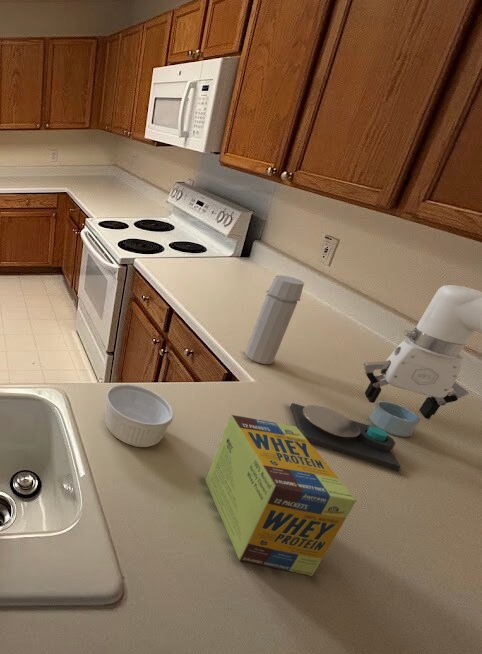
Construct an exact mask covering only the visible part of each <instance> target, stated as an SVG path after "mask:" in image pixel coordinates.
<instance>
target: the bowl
mask: <svg viewBox="0 0 482 654" xmlns="http://www.w3.org/2000/svg"><path fill="white" fill-rule="evenodd" d="M368 419H369V420H370V422H371V423H372V424H373V425H374V427H378V428H380V429H382V430H384V431H385V432H387V434H389V435H393V436H396V437H403V438H404V437H406V438H407V437H411V436H412V435H413V433H414V432H415V430H416V428H417V427H418V425H419V423H420V422H421V418H420V417H419V416H418V414H416V413H415V412H414V411H412V410H411V409H408V408H407V407H405V406H404V405H403V406H402V405H400V404H397V403H395V402H391V401H386V400H379V401H377V402H376V404H375V406H374V407H373V409H372V411H371V412H370V414H369V417H368Z"/></svg>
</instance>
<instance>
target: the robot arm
mask: <svg viewBox="0 0 482 654" xmlns="http://www.w3.org/2000/svg"><path fill="white" fill-rule="evenodd" d="M475 332H478V333H480V334H482V291H481V290H478V289H475V288H472V287H468V286H463V285H457V284H445V285H443V286H440V287H439V288H438V289H437V291H436V292H435V293H434V295H433V297H432V299H431V301H430V302H429V304H428V305H427V307H426V309H425V311H424V313H423V315H422V316H421V318H420V319H419V320H418V323H417V324H416V326H415V327H413V329H412V330H404V331H403V337H406V338H405V339H404V340H402V341H401V343H399V344H398V345H397V346H396V347H395V349H394V350H393V351H392V352H391V354H390V355H389V356H388V357H387V359H386V360H384V361H371V362H365V363H363V369H364V374H365V376H366V377H367V379H368V380H369V384H368V386H367V388H366V389H365V391H364V395H365V397H366V399H367V400H368V403H371V404H374V403H375V402H376V401H377V399H378V397H379V395H380V393H381V392H382V388H381V387H383V386H386V385H390V386H392V387H395V388H399V389H402V390H405V391H410V392H413V393H417V394H420V395H423V396H428V397H426V399H425V400H424V402H423V403H422V405H421V406H420V408H419V409H418V411H419V413H420V414H421V415H422V416H423V417H424V419H426V420H430V419H431V418H432V416H434V415H435V414H436V413H437V412H438V410H439V408H440V407H443V406H446V404H448V403H453V402H457V401H458V399H461V398H463V397H465V396H467V395H469V391H468V390H467V389H466V388H465V387H463V385H460V384H459V383H458V382H456V381H457V378H458V376H459V374H460V371H461V368H462V365H463V361H464V357H463V356H462V355H461V353H462V351H463V350H464V348H465V346H466V345H467V343H468V341H469V340H470V338H471V337H472V335H473V333H475ZM375 370H380V373H379V374H376V375H375V374H374V372H375ZM452 389H453V390H452Z"/></svg>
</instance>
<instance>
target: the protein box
mask: <svg viewBox="0 0 482 654" xmlns="http://www.w3.org/2000/svg"><path fill="white" fill-rule="evenodd" d="M204 481H205V484H206V487H207V489H208V491H209V493H210V496H211V498H212V500H213V502H214V505H215V508H216V509H217V512H218V514H219V517H220V518H221V521H222V523H223V526H224V528H225V530H226V533H227V535H228V537H229V540H230V542H231V545H232V547H233V549H234V551H235V554H236V556H237V558H238V561H241V562H246V563H251V564H256V565H260V566H265V567H268V568H273V569H279V570H282V571H288V572H293V573H297V574H302V575H306V576H310V577H312V576H314V574H315V572H316V571H317V569H318V567H319V565H320V563H321V562H322V560H323V558H324V557H325V555H326V553H327V551H328V550H329V548H330V546H331V545H332V543H333V541H334V539H335V538H336V536H337V534H338V533H339V531H340V529H341V527H342V526H343V524H344V523H345V521H346V519H347V517H348V516H349V514H350V512H351V510H352V509H353V507H354V506H355V504H356V503H357V498H356V497H355V496H354V495H353V494H352V493H351V491H350V490H349V489H348V487H347V486H346V485H345V484H344V483H343V482H342V480H341V479H340V478H339V477H338V476H337V475H336V473H335V472H334V471H333V470H332V468H331V467H330V465H328V463H327V462H326V461H325V460H324V458H323V457H322V456H321V454H320V453H319V452H318V451H317V450H316V449H315V448H314V446H313V444H311V443H309V441H308V440H307V439H306V438H305V437H304V435H303V434H302V433H301V432H300V430H299V429H298V428H297V426H296V425H290V424H286V423H280V422H274V421H269V420H264V419H263V420H262V419H257V418H251V417H245V416H241V415H235V414H231V415H230V417H229V419H228V422H227V425H226V427H225V430H224V432H223V434H222V437H221V440H220V442H219V445H218V447H217V450H216V452H215V455H214V458H213V460H212V463H211V465H210V467H209V469H208V472H207V475H206V477H205V480H204Z"/></svg>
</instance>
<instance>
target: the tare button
mask: <svg viewBox="0 0 482 654" xmlns="http://www.w3.org/2000/svg"><path fill="white" fill-rule="evenodd" d="M369 426H370V427H369V429H368V431H367V434H368V435H369V436H370V437H372V438H374V439H376V440H379V441H382V442H384V441H385V440H386V438H387V436H388V435H389V433H387V432H385V431H384V430H382V429H380V428H378V427H376V426H375V425H374V426H373V425H369Z"/></svg>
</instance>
